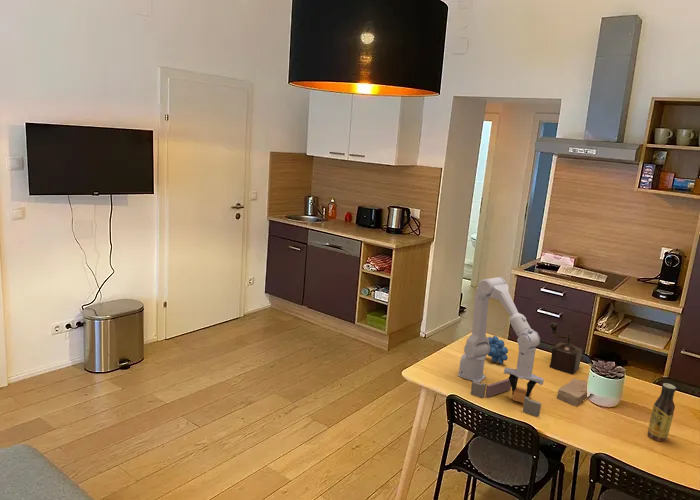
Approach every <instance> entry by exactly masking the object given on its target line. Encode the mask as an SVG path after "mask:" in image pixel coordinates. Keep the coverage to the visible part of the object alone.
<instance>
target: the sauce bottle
mask: <svg viewBox="0 0 700 500" xmlns="http://www.w3.org/2000/svg"><path fill="white" fill-rule="evenodd" d="M676 391H677V387H676V386H675V385H674V384H671V383H668V382H667V383H666V382H664V383H662V386H661V392H660V395H659V396H658V398H657V399H656V401H655V402H654V403H653V406H652V407H653V408H652V411H651V415H650V418H649V419H650V420H649V423H648V427H647V436H648V437H649V438H650V439H653V440H654V441H658V442H659V441H660V442H665V441H667V440H668V437H669V433H670V430H671V426H672V422H673V417H674V412H675V407H676V405H675V403H674V397H675V396H674V395H675V392H676Z"/></svg>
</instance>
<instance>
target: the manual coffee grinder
mask: <svg viewBox="0 0 700 500" xmlns="http://www.w3.org/2000/svg"><path fill="white" fill-rule="evenodd" d="M549 327H550V329H551V333H552V335H553V337H555V338H559V339H560V338H561V339H567V342H565V343H563V342H559V343H557V344H556V345H555V346H554V347H552V349H551V357H550V364H549V368H551V369H553V370H556V371H559V372H561V373H566V374H569V375H574V374H575V373H577V371H579V369H580V364H581V359H582V353H583V348H581V347H578V346H576V345H574V344H573V343H572V341H571V338H572V333H571V332H568V335H567V336H565V335H558V334H557V333H559V331H558V328H559V324H558V322H551V323H550V324H549Z"/></svg>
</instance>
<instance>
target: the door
mask: <svg viewBox="0 0 700 500" xmlns="http://www.w3.org/2000/svg"><path fill="white" fill-rule="evenodd" d="M507 391H512V387H511V384H510V381H509V377H508V378H506V379H502V380H499V381H495V382H492V383H490V384H486V389H485V397H486V398H491V397H493V396H497V395H499V394H502V393H505V392H507Z"/></svg>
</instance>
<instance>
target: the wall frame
mask: <svg viewBox="0 0 700 500" xmlns="http://www.w3.org/2000/svg"><path fill="white" fill-rule="evenodd" d="M486 389H487V383H485V382H482V383H481V382H480V383H479V382H476V381H472V382H471V388H470V395H472V396H475V397H479V398H482V399H484V398H485V397H486ZM541 408H542V402H539V401H537V400H533V399H531V398H530V397H525V399H524V403H523V406H522V412H523V413H525V414H528V415H531V416H534V417H538V418H539V417H540V414H541V413H540V412H541Z"/></svg>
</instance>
